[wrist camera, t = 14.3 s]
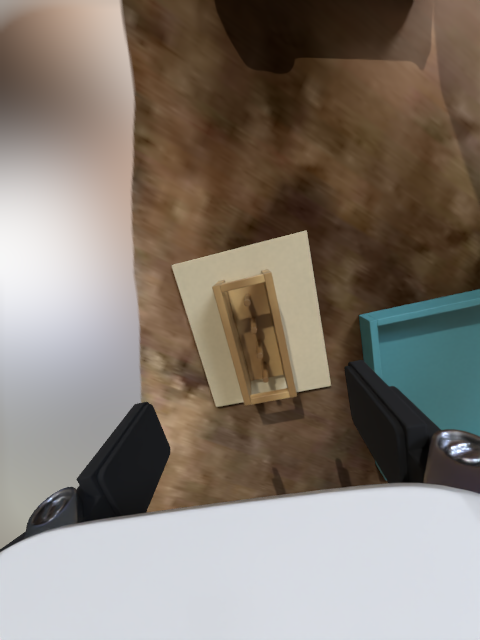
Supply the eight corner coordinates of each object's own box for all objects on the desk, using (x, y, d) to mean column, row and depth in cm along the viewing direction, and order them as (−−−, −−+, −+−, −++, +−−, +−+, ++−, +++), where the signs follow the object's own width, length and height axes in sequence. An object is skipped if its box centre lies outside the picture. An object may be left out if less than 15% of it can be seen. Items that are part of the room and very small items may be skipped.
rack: (267, 268, 27) (271, 272, 22) (289, 374, 30) (297, 396, 26) (218, 281, 28) (211, 286, 23) (245, 382, 31) (244, 406, 26)
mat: (305, 230, 26) (306, 230, 26) (329, 383, 31) (331, 386, 31) (172, 265, 28) (171, 265, 27) (216, 405, 33) (216, 407, 32)
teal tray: (534, 277, 26) (565, 279, 24) (518, 442, 32) (542, 458, 30) (358, 315, 28) (369, 321, 26) (375, 463, 35) (385, 480, 32)
